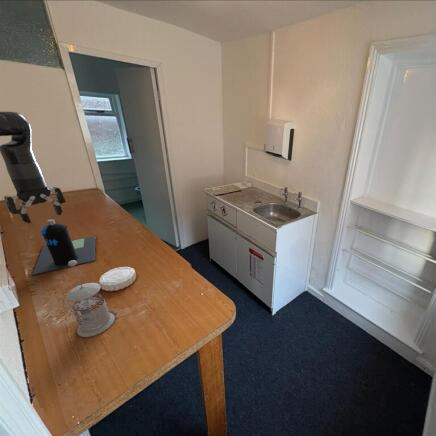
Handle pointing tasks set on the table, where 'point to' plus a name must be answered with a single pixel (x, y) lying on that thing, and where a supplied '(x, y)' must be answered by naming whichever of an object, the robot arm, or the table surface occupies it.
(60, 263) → the aerosol can
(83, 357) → the table surface
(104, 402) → the table surface
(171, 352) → the table surface
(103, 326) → the french press
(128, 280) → the mooncake
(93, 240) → the board
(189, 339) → the table surface
